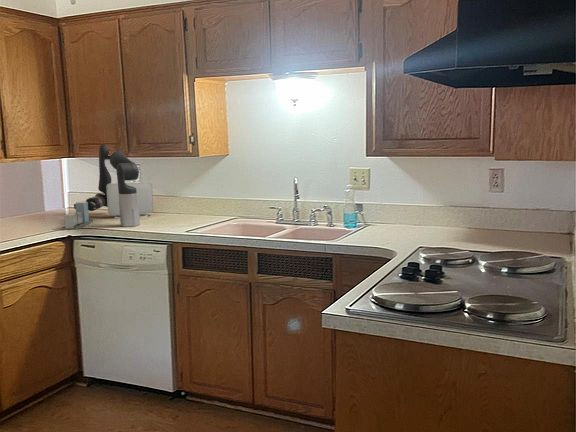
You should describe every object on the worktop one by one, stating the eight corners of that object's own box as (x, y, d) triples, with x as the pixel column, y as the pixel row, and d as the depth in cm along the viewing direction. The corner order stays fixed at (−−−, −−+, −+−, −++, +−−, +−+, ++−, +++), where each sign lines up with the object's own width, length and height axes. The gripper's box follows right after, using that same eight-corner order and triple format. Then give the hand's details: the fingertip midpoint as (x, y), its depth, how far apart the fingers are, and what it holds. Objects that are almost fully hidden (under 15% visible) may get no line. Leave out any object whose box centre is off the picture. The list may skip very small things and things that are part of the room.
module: (80, 221, 324) (79, 201, 322) (89, 221, 324) (87, 201, 322) (76, 223, 318) (75, 202, 316) (85, 223, 318) (83, 202, 316)
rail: (79, 222, 325) (78, 209, 324) (92, 222, 325) (92, 208, 324) (62, 229, 302) (61, 215, 301) (77, 229, 302) (76, 214, 301)
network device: (108, 219, 335) (106, 184, 332) (108, 217, 344) (106, 183, 341) (154, 216, 343) (152, 182, 340) (152, 214, 351) (150, 181, 348)
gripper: (81, 197, 337) (70, 200, 321) (105, 197, 337) (95, 200, 321) (81, 210, 339) (71, 214, 323) (106, 209, 338) (96, 214, 322)
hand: (83, 207), depth 322 cm, fingers open, 8 cm apart
